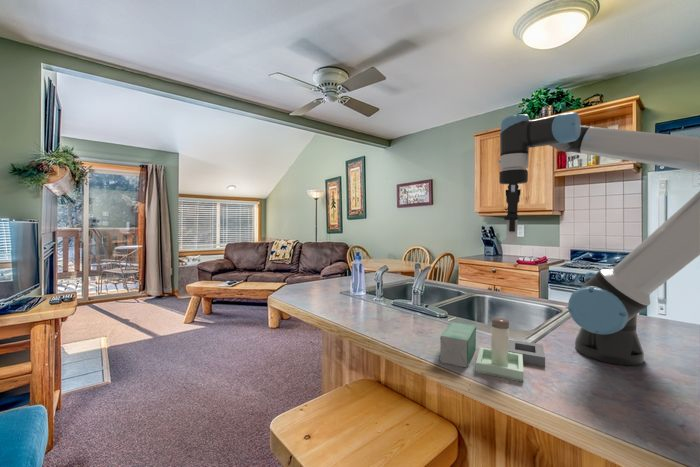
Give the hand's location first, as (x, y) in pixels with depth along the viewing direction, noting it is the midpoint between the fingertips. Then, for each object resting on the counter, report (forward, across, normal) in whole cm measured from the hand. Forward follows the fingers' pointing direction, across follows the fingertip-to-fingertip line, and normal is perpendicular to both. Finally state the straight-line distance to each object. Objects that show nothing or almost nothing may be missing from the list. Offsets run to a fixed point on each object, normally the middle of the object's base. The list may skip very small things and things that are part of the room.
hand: (511, 241), depth 96 cm
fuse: (+31, +18, -2) cm, 36 cm away
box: (+32, +15, -13) cm, 38 cm away
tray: (+32, +18, -2) cm, 36 cm away
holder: (+32, +8, +4) cm, 33 cm away
